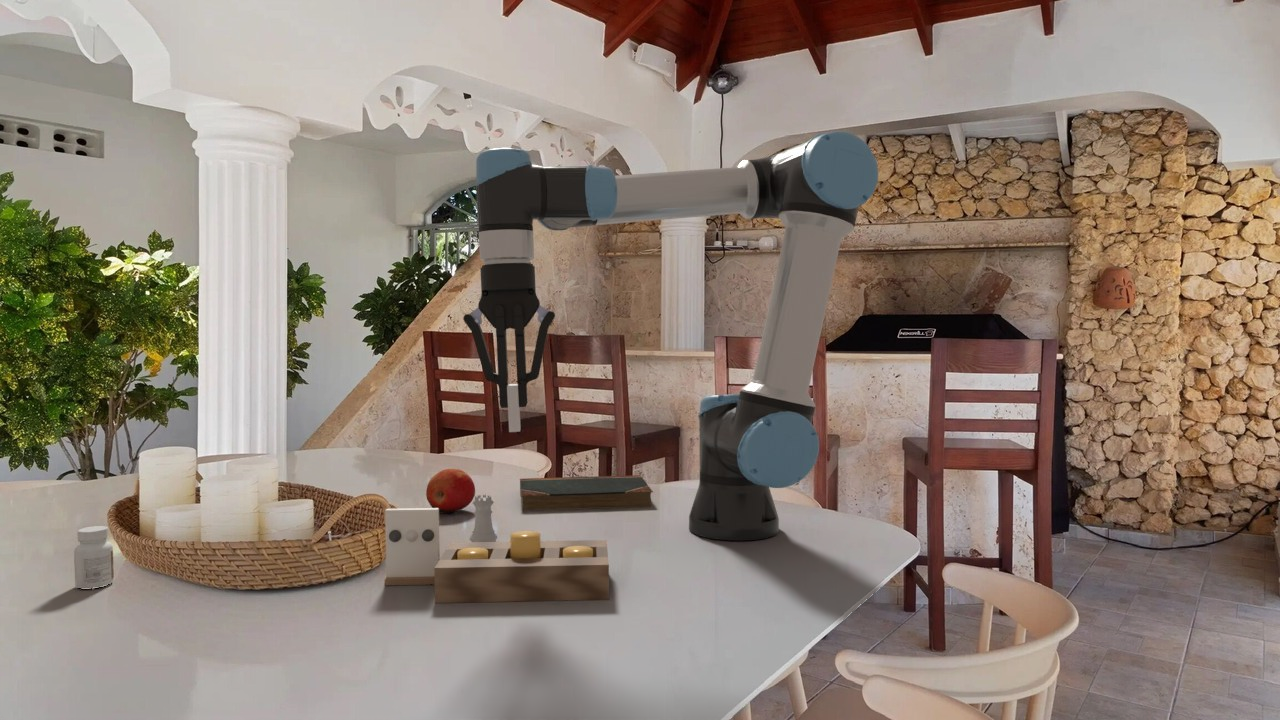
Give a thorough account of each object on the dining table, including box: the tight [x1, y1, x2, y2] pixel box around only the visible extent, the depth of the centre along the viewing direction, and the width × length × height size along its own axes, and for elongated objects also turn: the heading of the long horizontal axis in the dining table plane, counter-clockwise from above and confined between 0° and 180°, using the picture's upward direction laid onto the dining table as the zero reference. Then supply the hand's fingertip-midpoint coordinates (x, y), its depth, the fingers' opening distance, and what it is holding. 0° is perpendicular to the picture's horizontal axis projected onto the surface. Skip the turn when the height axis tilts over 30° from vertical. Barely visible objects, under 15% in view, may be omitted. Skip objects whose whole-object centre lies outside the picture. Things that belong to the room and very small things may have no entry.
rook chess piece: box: [469, 494, 498, 542], centre depth 134 cm, size 4×4×8 cm
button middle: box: [509, 530, 541, 559], centre depth 114 cm, size 4×4×4 cm
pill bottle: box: [73, 525, 115, 589], centre depth 115 cm, size 4×4×8 cm
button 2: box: [563, 546, 593, 558], centre depth 115 cm, size 4×4×4 cm
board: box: [434, 539, 610, 604], centre depth 115 cm, size 22×12×4 cm, turn 94°
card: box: [384, 507, 441, 586], centre depth 116 cm, size 7×3×10 cm, turn 94°
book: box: [519, 474, 653, 511], centre depth 169 cm, size 17×4×25 cm
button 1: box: [457, 548, 488, 560], centre depth 114 cm, size 4×4×4 cm
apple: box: [425, 468, 476, 514], centre depth 157 cm, size 8×8×8 cm
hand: (514, 430), depth 121 cm, fingers closed
